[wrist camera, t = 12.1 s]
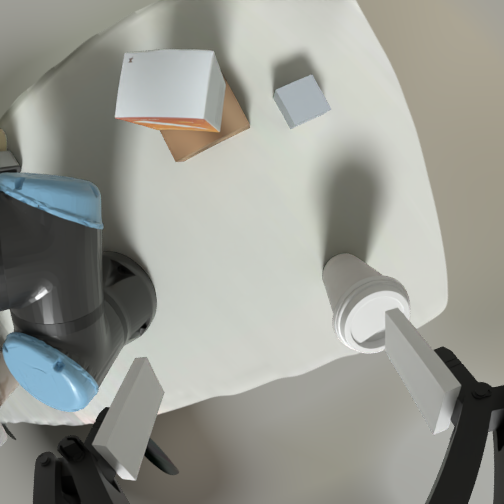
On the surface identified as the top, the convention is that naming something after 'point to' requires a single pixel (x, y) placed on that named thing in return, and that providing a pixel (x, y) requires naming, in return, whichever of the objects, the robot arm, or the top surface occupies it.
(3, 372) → the lamp
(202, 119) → the small box
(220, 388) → the top surface
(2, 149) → the coffee cup
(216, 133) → the walnut block
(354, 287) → the coffee cup
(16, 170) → the graphics card
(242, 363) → the top surface
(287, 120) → the grey cube
